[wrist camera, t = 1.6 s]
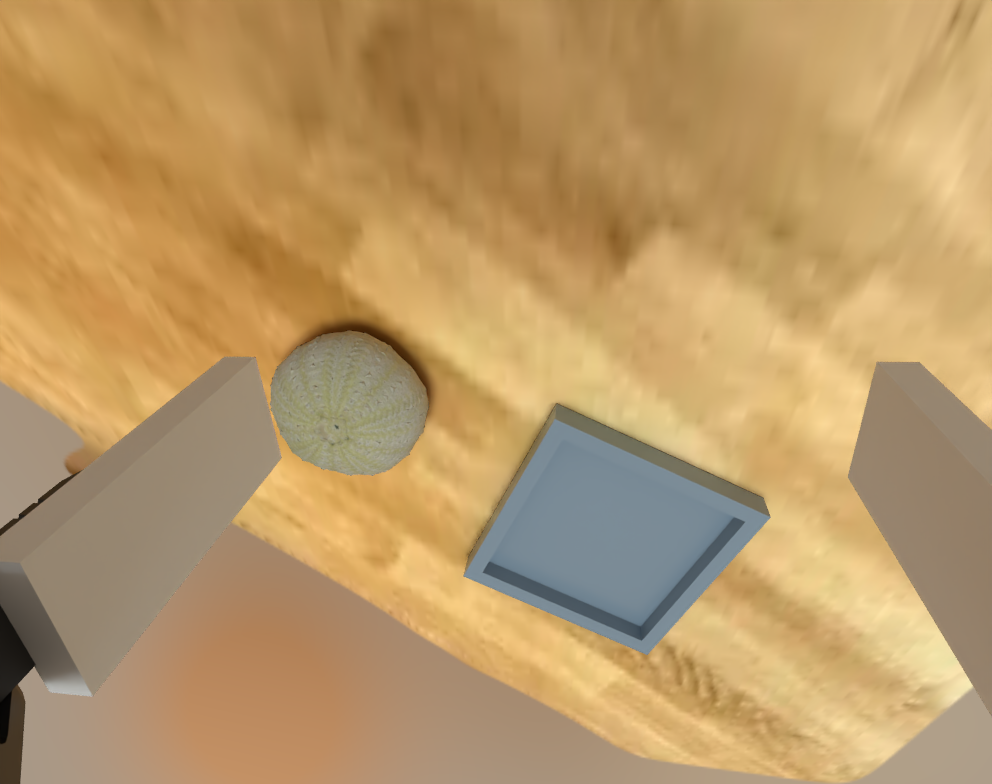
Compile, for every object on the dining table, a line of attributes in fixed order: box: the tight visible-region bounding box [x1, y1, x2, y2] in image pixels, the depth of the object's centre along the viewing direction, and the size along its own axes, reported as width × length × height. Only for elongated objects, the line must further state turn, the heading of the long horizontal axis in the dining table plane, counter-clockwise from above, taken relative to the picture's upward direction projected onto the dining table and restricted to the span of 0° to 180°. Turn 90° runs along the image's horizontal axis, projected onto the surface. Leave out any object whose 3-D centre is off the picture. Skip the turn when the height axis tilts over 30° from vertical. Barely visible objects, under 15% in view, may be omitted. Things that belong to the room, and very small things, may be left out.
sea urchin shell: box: [270, 330, 429, 476], centre depth 37 cm, size 9×8×8 cm
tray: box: [463, 404, 770, 655], centre depth 40 cm, size 14×14×2 cm
